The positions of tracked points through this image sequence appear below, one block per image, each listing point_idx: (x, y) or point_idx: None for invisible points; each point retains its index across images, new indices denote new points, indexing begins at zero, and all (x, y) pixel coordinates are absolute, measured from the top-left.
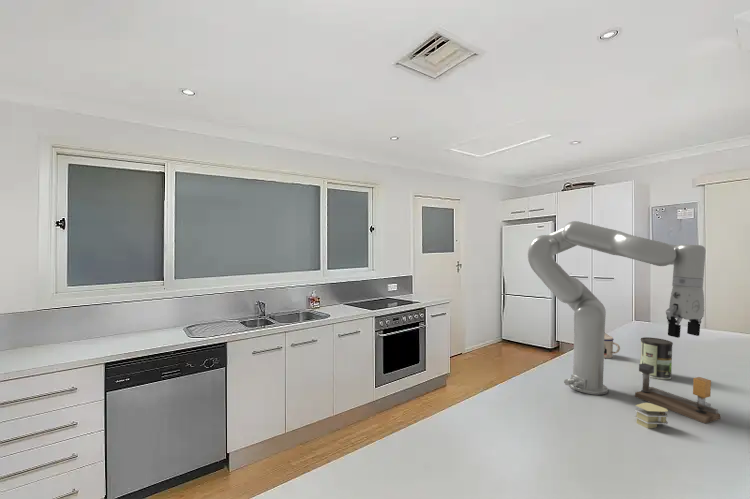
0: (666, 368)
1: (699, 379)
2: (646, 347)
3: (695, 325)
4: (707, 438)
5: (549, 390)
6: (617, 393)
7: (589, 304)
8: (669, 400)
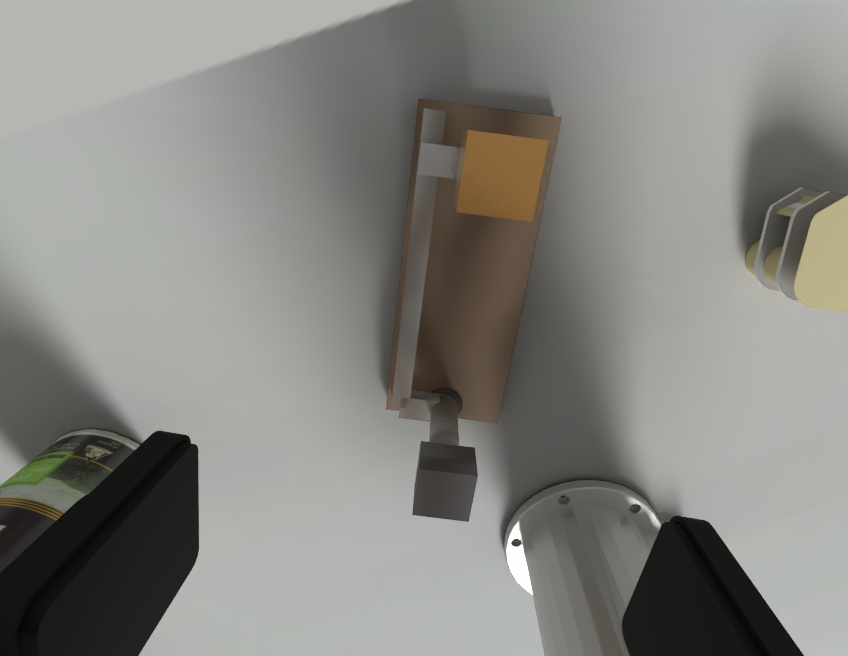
0: (80, 471)
1: (530, 184)
2: None
3: (81, 624)
4: (748, 39)
5: None
6: (525, 461)
7: None
8: (459, 304)
